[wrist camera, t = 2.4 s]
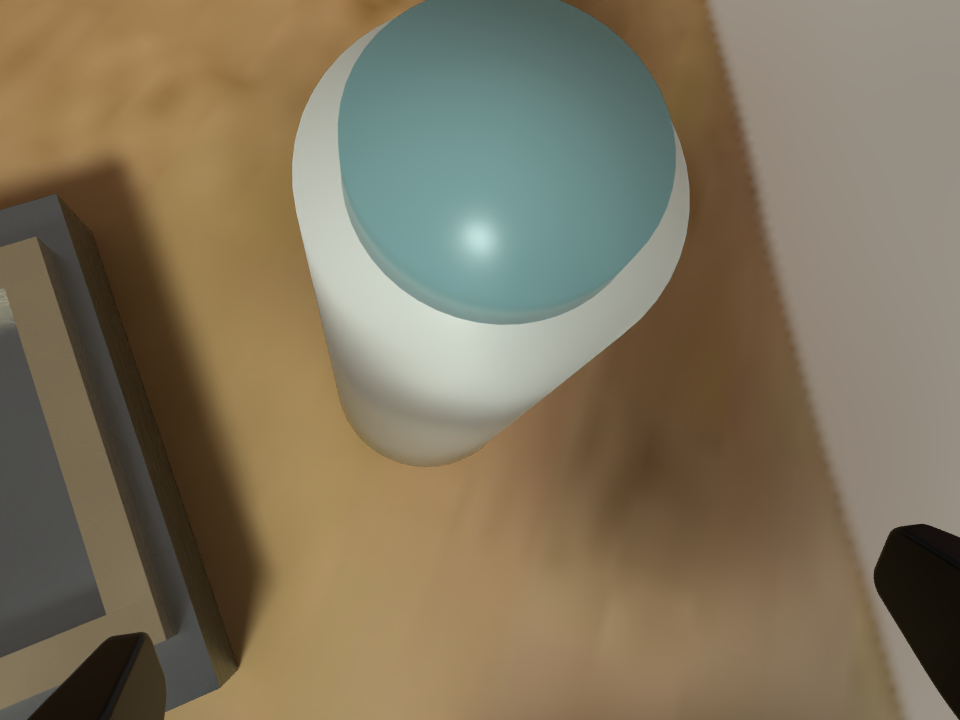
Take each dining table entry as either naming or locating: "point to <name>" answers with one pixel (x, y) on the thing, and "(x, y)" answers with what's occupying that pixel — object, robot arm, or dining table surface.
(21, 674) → the grey rectangular tray
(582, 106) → the white canister
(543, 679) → the dining table surface
